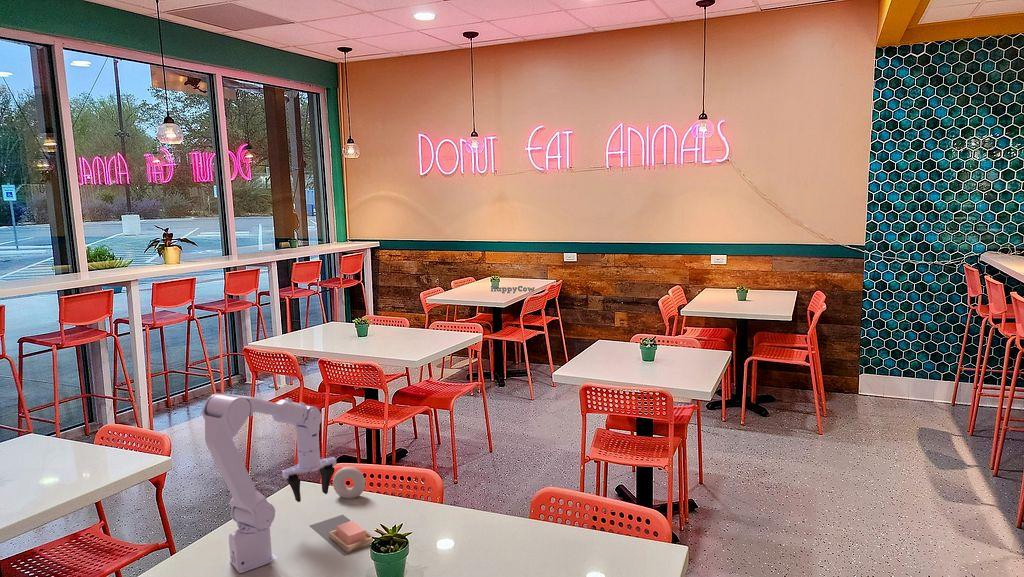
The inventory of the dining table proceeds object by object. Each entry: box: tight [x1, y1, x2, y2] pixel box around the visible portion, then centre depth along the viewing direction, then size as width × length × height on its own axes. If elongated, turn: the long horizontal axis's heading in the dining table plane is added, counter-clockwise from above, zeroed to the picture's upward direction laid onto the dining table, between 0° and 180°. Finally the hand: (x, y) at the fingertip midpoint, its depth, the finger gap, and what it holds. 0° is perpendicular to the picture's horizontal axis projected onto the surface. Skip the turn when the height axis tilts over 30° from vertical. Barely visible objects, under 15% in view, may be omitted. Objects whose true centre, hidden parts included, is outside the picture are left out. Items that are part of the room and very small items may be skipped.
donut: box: [332, 466, 366, 500], centre depth 204 cm, size 10×4×10 cm, turn 84°
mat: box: [309, 514, 371, 557], centre depth 181 cm, size 10×22×1 cm, turn 39°
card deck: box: [336, 520, 367, 545], centre depth 177 cm, size 8×5×3 cm, turn 39°
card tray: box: [329, 530, 376, 553], centre depth 177 cm, size 8×11×2 cm
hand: (311, 496), depth 184 cm, fingers open, 7 cm apart
